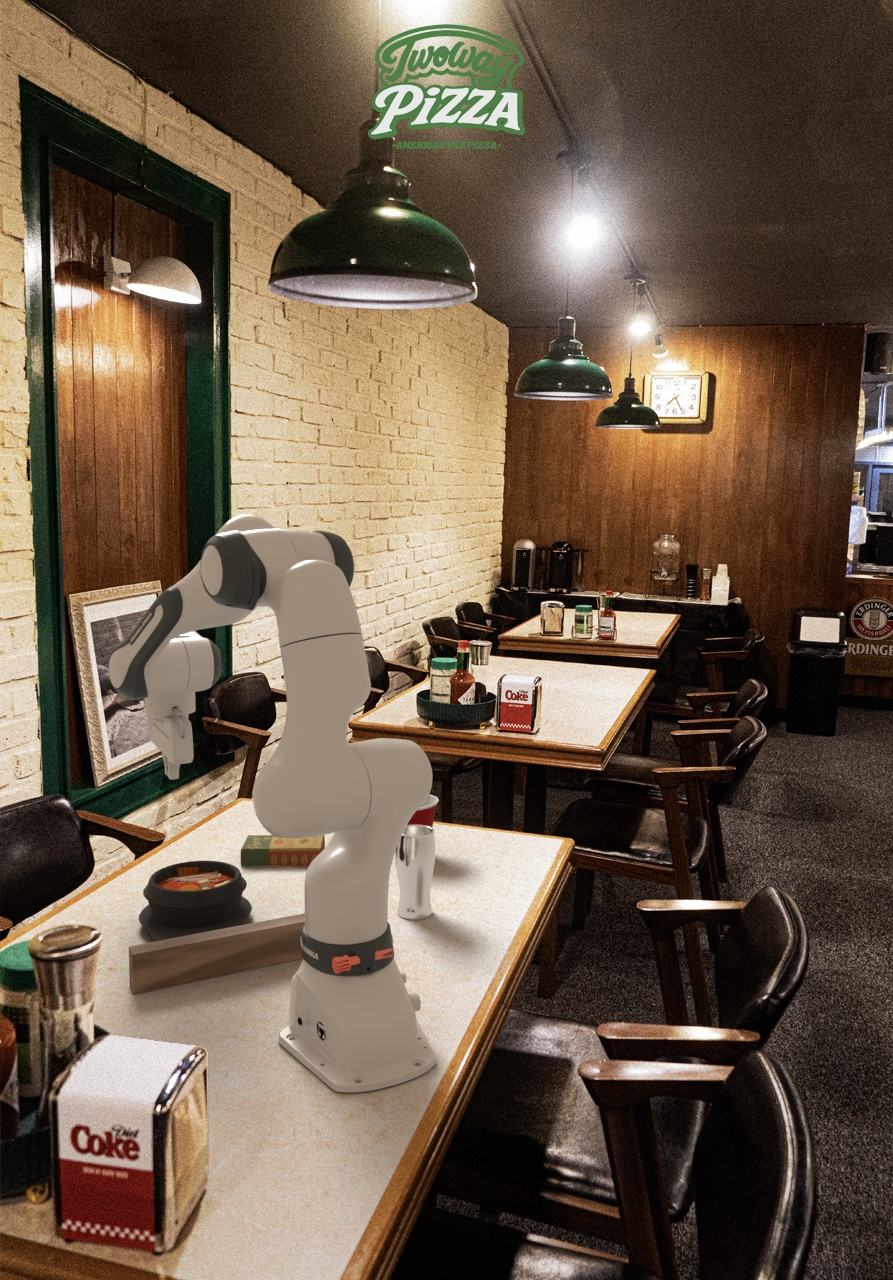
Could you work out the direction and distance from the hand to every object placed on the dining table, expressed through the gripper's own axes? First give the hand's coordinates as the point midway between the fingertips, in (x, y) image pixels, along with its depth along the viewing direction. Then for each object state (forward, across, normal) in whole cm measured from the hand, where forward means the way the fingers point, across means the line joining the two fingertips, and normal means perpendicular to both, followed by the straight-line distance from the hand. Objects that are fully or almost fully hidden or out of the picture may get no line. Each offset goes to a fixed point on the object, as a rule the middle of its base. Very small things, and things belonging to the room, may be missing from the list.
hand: (172, 777), depth 175 cm
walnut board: (+21, -36, 0) cm, 42 cm away
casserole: (+21, -17, 0) cm, 27 cm away
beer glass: (+21, -30, -35) cm, 51 cm away
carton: (+22, +6, -23) cm, 32 cm away
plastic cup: (+21, -4, -47) cm, 52 cm away
